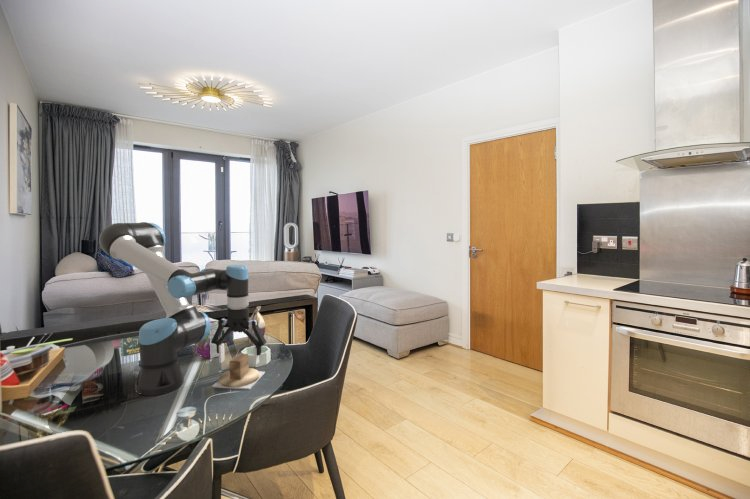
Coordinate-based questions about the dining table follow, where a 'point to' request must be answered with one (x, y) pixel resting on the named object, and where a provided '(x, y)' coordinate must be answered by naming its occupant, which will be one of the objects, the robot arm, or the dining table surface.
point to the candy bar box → (208, 342)
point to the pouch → (261, 323)
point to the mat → (248, 387)
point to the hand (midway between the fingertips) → (239, 362)
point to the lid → (239, 373)
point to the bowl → (263, 357)
